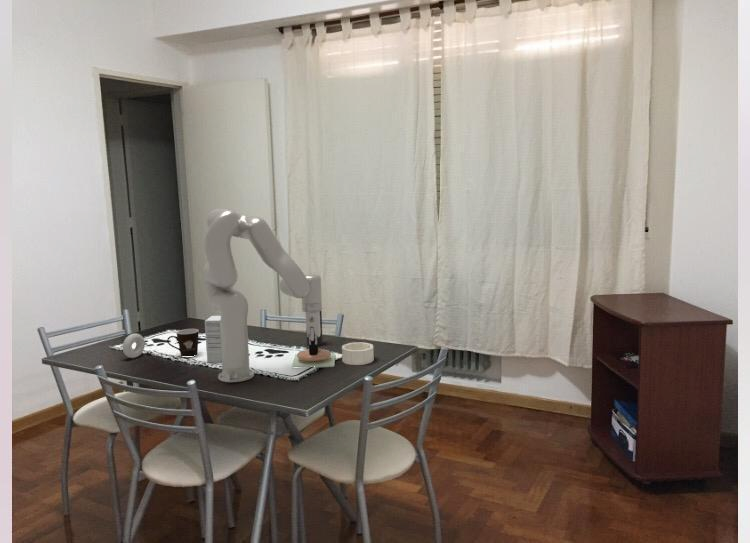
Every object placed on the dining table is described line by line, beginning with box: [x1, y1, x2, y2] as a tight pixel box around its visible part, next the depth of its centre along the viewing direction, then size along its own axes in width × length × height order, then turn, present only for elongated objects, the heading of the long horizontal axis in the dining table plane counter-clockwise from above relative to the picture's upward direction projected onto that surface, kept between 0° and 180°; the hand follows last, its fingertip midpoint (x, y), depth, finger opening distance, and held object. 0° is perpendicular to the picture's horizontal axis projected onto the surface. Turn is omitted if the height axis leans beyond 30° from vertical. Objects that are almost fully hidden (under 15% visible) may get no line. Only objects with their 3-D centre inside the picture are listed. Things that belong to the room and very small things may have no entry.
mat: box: [291, 352, 336, 368], centre depth 226 cm, size 16×16×1 cm
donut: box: [122, 333, 146, 359], centre depth 235 cm, size 10×4×10 cm, turn 154°
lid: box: [297, 346, 332, 361], centre depth 226 cm, size 13×13×6 cm
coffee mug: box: [166, 328, 200, 357], centre depth 237 cm, size 12×9×10 cm
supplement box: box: [204, 315, 222, 363], centre depth 230 cm, size 10×9×17 cm
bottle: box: [305, 310, 324, 347], centre depth 249 cm, size 7×7×20 cm
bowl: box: [341, 341, 375, 366], centre depth 226 cm, size 12×12×6 cm
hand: (313, 352), depth 226 cm, fingers closed on lid, 3 cm apart
